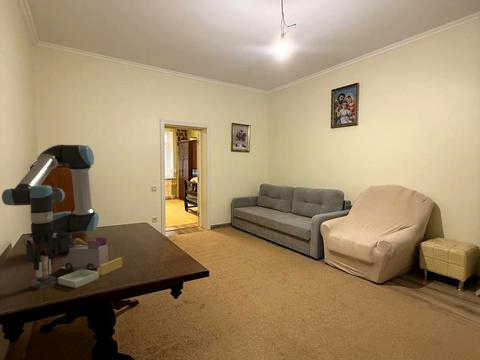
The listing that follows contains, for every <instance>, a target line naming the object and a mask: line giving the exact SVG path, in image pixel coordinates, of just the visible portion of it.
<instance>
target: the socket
mask: <svg viewBox="0 0 480 360" xmlns="http://www.w3.org/2000/svg"><path fill="white" fill-rule="evenodd" d="M56 283H57V277H56V276H52V275H49V279H48V280H45V281H43V282H40V281H39V277H36V278H35V279H32V280H30V287H32V288H35V289H39V290H43V289H45V288H47V287H50V286H53V284H56Z"/></svg>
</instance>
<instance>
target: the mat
mask: <svg viewBox="0 0 480 360" xmlns="http://www.w3.org/2000/svg"><path fill="white" fill-rule="evenodd" d="M60 268H61V270H67V269H66V268H65V267H60ZM80 269H86V270H88V269H87V267H73V269H71V270H70V271H73V272H75V271H77V270H80ZM67 271H68V270H67ZM92 271H95V272H97V269H96V270H92ZM100 276H101V275H99V277H100Z"/></svg>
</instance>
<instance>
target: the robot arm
mask: <svg viewBox="0 0 480 360" xmlns="http://www.w3.org/2000/svg"><path fill="white" fill-rule="evenodd" d="M94 163H95V155H94V152H93V150H92V149H91V147H90V146H88V145H82V144H56V145H53V146H50V147H49V148H47V149H45V150H44V151H42V152H41V153H40V154H39V155H38V156H37V158H36V162H35V163H34V165H33V166H32V167H31V168H30V169H29V171H28V172H27V173H26V174H25V176H23V177H22V179H21V180H20V182H18V184H17V185H16V186H15V187H14V188H6V189H4V190H3V192H2V194H1V200H2V203H3V204H4V205H5V206H15V207H17V206H30V222H31V224H30V232H31V234H30V237H29V238H28V239H24V240H23V243H24V245H25V250H26V255H27V256H26V257H27V263H32V264H33V270H34V271H35V277H36V278H39V277H40V278H41V277H42V262H39V261H40V257H41V254H42V253H41V252H42V247H43V244H44V248H45V249H44V253H46V255H45V256H48V275H51V274H52V266H53V265H54V260H53V259H55V257H56V256H58V254H63V253H67V252H68V253H69V248H71V247H69V245H72V246H76V244H74V239H73V235H72V234H73V233H74V234H75V233H91V232H94V231H96V229H97V227H98V224H99V220H100V219H99V218H100V217H99V216H100V215H99V213H98V212H95V209H94V208H93V207H92V199H91V196H92V195H91V188H90V187H91V186H90V175H89V171H90V169H91V168H92V166H93V165H94ZM58 166H67V169H68V170H69V171H70V172H71V179H72V189H73V200H74V210H73V211H72V212H71V211H67V210H66V211H59V212H56V213H53V211H54V209H53V205H58V204H60V203H61V202H63V201H64V199H65V197H66V193H65V192H64V190H63V189H61V188H59V187H52V186H51V185H49V184H48V185H44V184H43V182H44V181H45V180H46V179H47V177H48V175H50V172H51V171H52V170H53V169H56V168H57V167H58ZM42 184H43V185H42ZM33 242H34V244H33Z"/></svg>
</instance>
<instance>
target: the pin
mask: <svg viewBox="0 0 480 360" xmlns="http://www.w3.org/2000/svg"><path fill="white" fill-rule="evenodd" d="M39 262H42V277H41V278H40V277H38V278H39V281H40V282H43V281H45V280H48V279H49V276H50V274H48V256H47V255H40V261H39Z"/></svg>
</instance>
